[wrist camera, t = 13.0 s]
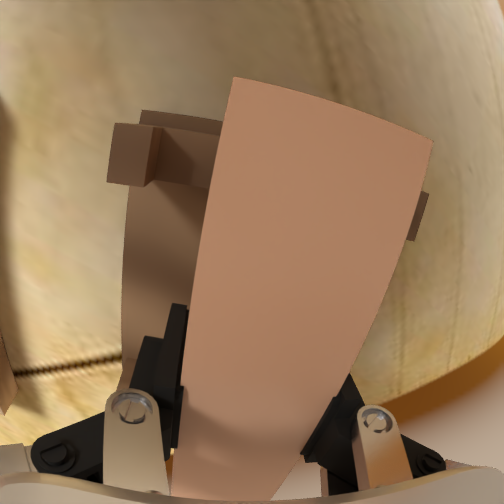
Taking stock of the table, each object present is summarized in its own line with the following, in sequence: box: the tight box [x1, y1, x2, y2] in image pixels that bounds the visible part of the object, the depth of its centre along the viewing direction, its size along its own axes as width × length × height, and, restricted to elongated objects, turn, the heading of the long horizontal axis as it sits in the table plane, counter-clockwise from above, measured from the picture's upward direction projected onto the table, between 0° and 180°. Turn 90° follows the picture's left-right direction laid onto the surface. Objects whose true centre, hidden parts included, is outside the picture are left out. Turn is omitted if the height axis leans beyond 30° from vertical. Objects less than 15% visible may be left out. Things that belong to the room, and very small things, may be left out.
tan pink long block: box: [171, 76, 433, 501], centre depth 10 cm, size 16×4×4 cm, turn 168°
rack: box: [107, 110, 429, 391], centre depth 14 cm, size 15×11×5 cm
